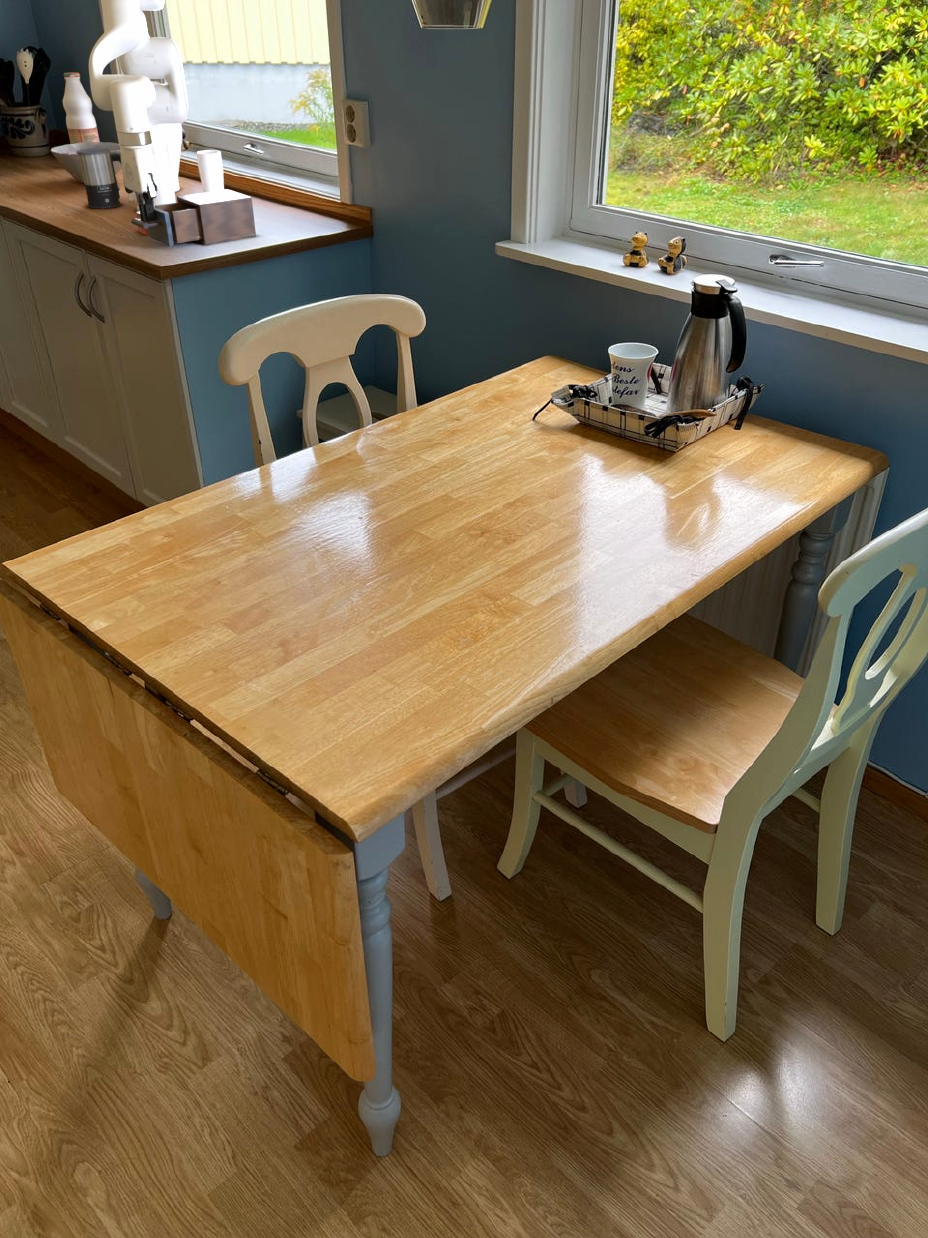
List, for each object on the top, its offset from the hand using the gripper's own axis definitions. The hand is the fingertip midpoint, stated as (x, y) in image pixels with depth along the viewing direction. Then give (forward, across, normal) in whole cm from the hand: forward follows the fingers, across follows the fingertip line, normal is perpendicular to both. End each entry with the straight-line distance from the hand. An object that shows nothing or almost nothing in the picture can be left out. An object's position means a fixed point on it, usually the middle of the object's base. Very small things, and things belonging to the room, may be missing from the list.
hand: (148, 220), depth 239 cm
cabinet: (+6, 0, +18) cm, 19 cm away
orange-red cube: (+6, -14, +6) cm, 17 cm away
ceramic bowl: (+8, -89, +22) cm, 92 cm away
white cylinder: (+7, -29, +33) cm, 44 cm away
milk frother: (+7, -56, +12) cm, 58 cm away
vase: (+8, -62, +34) cm, 71 cm away
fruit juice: (+8, -116, +31) cm, 120 cm away
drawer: (+5, 0, +6) cm, 8 cm away
